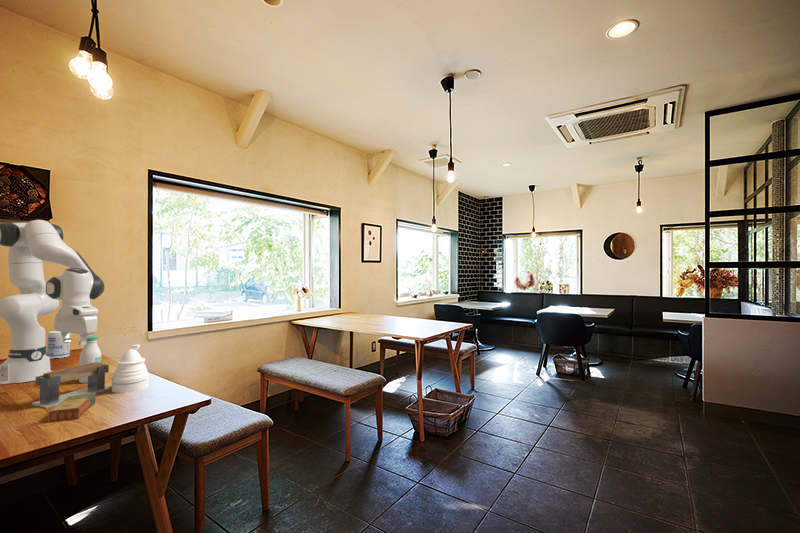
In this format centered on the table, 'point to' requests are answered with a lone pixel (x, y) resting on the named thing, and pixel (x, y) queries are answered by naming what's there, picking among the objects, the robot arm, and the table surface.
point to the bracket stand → (52, 397)
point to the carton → (72, 408)
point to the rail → (75, 372)
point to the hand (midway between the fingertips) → (74, 344)
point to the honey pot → (130, 373)
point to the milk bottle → (89, 354)
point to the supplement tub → (57, 345)
